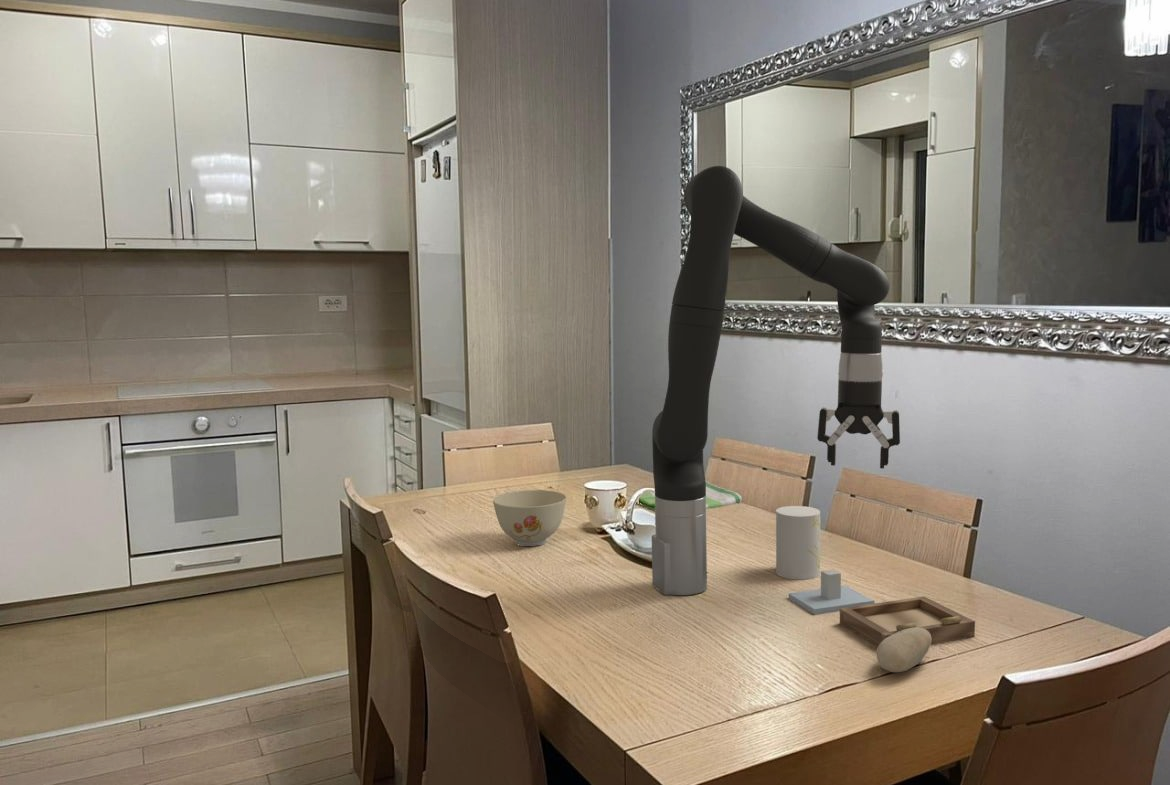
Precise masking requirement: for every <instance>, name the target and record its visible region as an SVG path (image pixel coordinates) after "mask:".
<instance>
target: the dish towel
mask: <svg viewBox="0 0 1170 785" xmlns="http://www.w3.org/2000/svg"><path fill="white" fill-rule="evenodd" d="M705 481H706V510H708V509H709V508H710V509H717V508H721V507H727V506H731V504H733V505H735V503H738V504H741V502H743V497H742V496H741V495H740V494H739V493H737V492H736V491H732V490H729V489H726V488H724V487H719V486H718V485H715V484H712V483H710V482H709V481H707V480H705ZM644 493H645V494H644V495H642V496H641V497H640V498H639V504H638V505H640V503H641V504H642V505H643V507H644V508H647V509H650V510H652V511H655V494H654V493H652V491H647V493H646V492H644ZM642 505H641V506H642ZM726 505H727V506H726ZM716 507H717V508H716Z"/></svg>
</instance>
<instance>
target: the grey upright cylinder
mask: <svg viewBox="0 0 1170 785" xmlns="http://www.w3.org/2000/svg"><path fill="white" fill-rule="evenodd" d="M775 518H776V519H775V523H776V524H775V527H776V528H775V538H776V539H775V541H776V542H775V547H776V548H775V553H776V554H775V558H776V559H775V563H776V564H775V568H776V569H775V572H776V574H777V575H778V576H780V577H783V578H786V579H790V580H801V581H802V580H811V579H815V578H818V577H819V576H821V511H820V509H817V508H815V507H812V506H804V505H789V506H788V505H787V506H781V507H778V508H776V510H775Z"/></svg>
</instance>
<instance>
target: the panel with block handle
mask: <svg viewBox="0 0 1170 785" xmlns="http://www.w3.org/2000/svg"><path fill="white" fill-rule="evenodd" d="M787 596H788V600H791V601H792V602H794V603H795V604H797V605H798V606H800V607H802V608H804V609H805V610H806V611H808V612H810V613H811V614H813V615H814V616H815V615H821V614H828V613H834V612H835V613H836V612H840V609H841V608H847V607H854V606H861V605H868V604H875V600H874V599H872V598H870V597H869V596H866V595H864V594H863V593H861V592H858V591H857V590H855V589H853V588H851V587H850V586H848V585H842V573H841V572H839V571H837V570H836V569H834V568H832V569H825V570H824V569H823V570H820V588H816V589H811V590H803V591H801V590H800V591H795V592H788V594H787Z"/></svg>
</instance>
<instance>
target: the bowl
mask: <svg viewBox="0 0 1170 785" xmlns="http://www.w3.org/2000/svg"><path fill="white" fill-rule="evenodd" d="M566 503H567V496H566V495H565V494H564V493H561V492H558V491H555V490H545V489H528V490H527V489H526V490H515V491H510V492H509V491H508V492H505V493H502V494H499V495H496V496H495V497H493V499H492V504H493V507H494V511H495V515H496V519H497V522H498V525H499V526H500V528H501V530H502V531H503V532H504V533H505V534H506V536H508V537H510V538H511V539H513V540H515V542H516V543H515V544H516V545H518V544H519V545H523V546H535V547H537V546H536V545H540V546H542V545H541V544H543V545H544V543H545V544H546V542H547V539H548V538H549V537H551V536H553V534H555V533H556V531H557V530H558V529H559V528H560V525H561V523H562V522H563V517H564V512H565V508H566ZM519 545H518V546H519ZM523 546H522V547H523Z"/></svg>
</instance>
